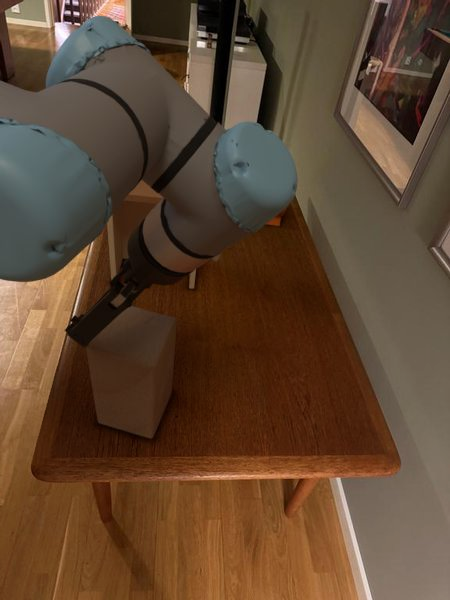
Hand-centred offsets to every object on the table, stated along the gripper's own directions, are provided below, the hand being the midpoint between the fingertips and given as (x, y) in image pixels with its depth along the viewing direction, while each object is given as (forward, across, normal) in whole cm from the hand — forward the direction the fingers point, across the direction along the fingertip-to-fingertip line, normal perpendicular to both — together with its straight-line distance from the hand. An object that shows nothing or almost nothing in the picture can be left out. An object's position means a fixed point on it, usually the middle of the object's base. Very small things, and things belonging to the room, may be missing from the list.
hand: (103, 299), depth 58 cm
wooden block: (+14, -5, -18) cm, 23 cm away
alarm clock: (+26, +71, -25) cm, 80 cm away
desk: (+29, +28, -7) cm, 41 cm away
